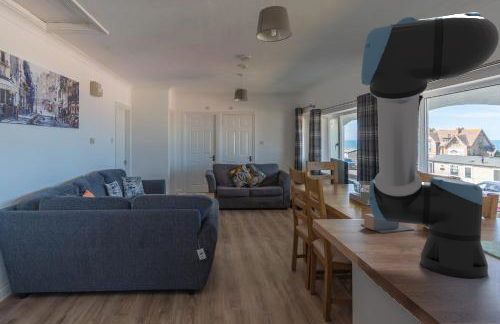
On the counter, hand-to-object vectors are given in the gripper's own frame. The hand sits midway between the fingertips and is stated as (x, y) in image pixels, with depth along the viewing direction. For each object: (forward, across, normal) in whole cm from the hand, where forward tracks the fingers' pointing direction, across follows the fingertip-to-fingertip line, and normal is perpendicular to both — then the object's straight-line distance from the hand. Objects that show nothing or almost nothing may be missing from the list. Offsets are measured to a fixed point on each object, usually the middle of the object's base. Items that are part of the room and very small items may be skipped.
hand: (403, 144), depth 111 cm
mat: (+32, -7, -14) cm, 36 cm away
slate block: (+30, +2, -14) cm, 33 cm away
